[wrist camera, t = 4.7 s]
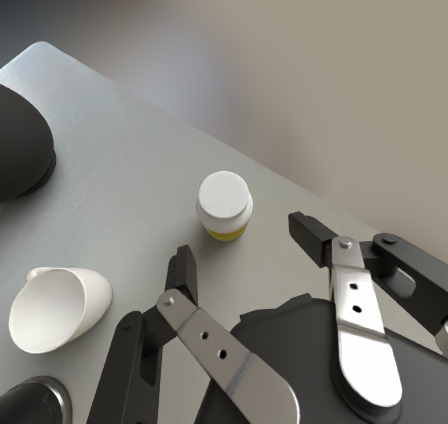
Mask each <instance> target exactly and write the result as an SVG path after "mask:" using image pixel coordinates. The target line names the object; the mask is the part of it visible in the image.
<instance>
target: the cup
mask: <svg viewBox="0 0 448 424" xmlns="http://www.w3.org/2000/svg"><path fill="white" fill-rule="evenodd" d="M26 281H27V283H26V284H25V285H24V286H23V287H22V289H21V290H20V291H19V293H18V294H17V296H16V298H15V300H14V302H13V304H12V307H11V310H10V315H9V331H10V335H11V338H12V340H13V341H14V343H15V344H16V345H17V347H19V348H20V349H21V350H23V351H25V352H27V353H31V354H43V353H47V352H50V351H53V350H55V349H57V348H59V347H61V346H63V345H65V344H67V343H69V342H70V341H72V340H74V339H76V338H77V337H79V336H81V335H82V334H84V333H85V332H86V331H88V330H89V329H90V328H92V327H93V326H94V325H95V324H96V323H97V322H98V321H99V320H100V319H101V317H102V316H103V315H104V314H105V312H106V311H107V309H108V307H109V305H110V303H111V300H112V295H113V290H112V286H111V284H110V282H109V280H108V279H107V278H106V277H105V276H103V275H102V274H100V273H98V272H96V271H94V270H91V269H87V268H78V267H64V268H51V267H39V268H35V269H32V270H31V271H30V272H29V273H28V274H27V275H26Z"/></svg>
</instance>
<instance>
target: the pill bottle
mask: <svg viewBox="0 0 448 424" xmlns="http://www.w3.org/2000/svg"><path fill="white" fill-rule="evenodd" d="M196 210H197V214H198V217H199V219H200V221H201V223H202V224H203V225H204V227H205V228H206V230H207V231H208V232H209V234H210V235H211V236H212V237H214V238H215V239H217V240H219V241H223V242H228V241H233V240H235V239H237V238H239V237H240V236H241V235H242V234H243V232H244V231H245V229H246V227H247V224H248V222H249V219H250V217H251V214H252V210H253V201H252V197H251V195H250V193H249V190H248V187H247V185H246V183H245V182H244V180H243V179H242V178H241V177H240V176H238V175H236V174H234V173H231V172H227V171H221V172H216V173H213V174H211V175H209V176H208V177H207V178H206V179H204V181H203V182H202V183H201V185H200V187H199V191H198V198H197V202H196Z"/></svg>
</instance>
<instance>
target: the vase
mask: <svg viewBox="0 0 448 424" xmlns="http://www.w3.org/2000/svg"><path fill="white" fill-rule="evenodd" d="M55 164H56V154H55V151H54V143H53V137H52V133H51V130H50V128H49V126H48V124H47V122H46V120H45V119H44V117H43V116H42V115H41V113H40V112H39V111H38V110H37V109H36V108H35V107H34V106H33V105H32V104H31V103H30V102H28V101H27V100H26V99H25V98H23V97H22V96H21V95H19V94H18V93H16V92H14V91H13V90H11V89H9V88H7V87H5V86H3V85H1V84H0V203H1V202H4V201H6V200H9V199H11V198H14V197H20V196H24V195H27V194H29V193H31V192H33V191H35V190H36V189H38V188H39V187H41V186H42V185H43V184H44V183H45V182H46V181H47V180H48V178H49V177H50V176H51V174H52V172H53V170H54V168H55Z"/></svg>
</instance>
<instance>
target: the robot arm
mask: <svg viewBox="0 0 448 424" xmlns="http://www.w3.org/2000/svg"><path fill="white" fill-rule="evenodd" d="M288 219H289V232H290V235H291V237H292V238H293V239H294V240H295V241H296V242H297V244H298V245H299V246H300V247H301V248H302V249H303V250H304V251H305V252H306V253H307V254H308V256H309V257H310V258H311V259H312V260H313V261H314V262H315V263H316V264H317V265H318V267H319V268H323V267H326V266H327V267H328V268H329V271H328V276H329V301H328V300H325V299H319V298H312V297H311V296H310V294H309V293H306V294H303V295H300V296H297V297H294V298H291V299H290V300H289V301H287V302H286V303H284V304H283V305H281V306H280V307H278V308H276V309H262V310H255V311H252V312H249V313H246V314H242V315H240V319H241V322H239V323H238V324H237V325H236V326H235V327H234V328H233V329H232V330H231V331H230V333H229V332H228V331H227V330H226V329H224V328H223V327H222V326H221V325H220V324H219V323H218V322H217V321H216V320H214V319H213V318H212V317H211V316H210V315H209V314H208V313H207V312H206V311H204V310H203V309H202V308H201V307H199V308H197V307H198V292H197V270H196V262H195V259H194V257H193V255H192V252H191V250H190V248H189V246H188V245H185V246H181V247H178V249H177V255H175V256H172V258H171V260H170V261H169V266H168V272H167V273H168V274H167V279H166V285H165V292H164V293H163V294H162V295H161V296H160V297H159V299H158V301H157V304H156V305H155V306H154V307H152V308H151V309H149V310H147V311H146V312H144V313H143V314H142V313H141V312H140V311H132V312H130V313H128V314H127V315H125V316H124V317H123V318H122V319H121V321H120V322H119V323H118V325H117V327H116V330H115V333H114V336H113V339H112V342H111V346H110V349H109V352H108V355H107V358H106V362H105V365H104V368H103V371H102V374H101V378H100V381H99V384H98V387H97V390H96V394H95V397H94V400H93V403H92V406H91V410H90V413H89V416H88V419H87V422H86V424H157V420H158V406H159V392H160V378H161V364H162V350H163V345H165V344H166V343H168V342H169V341H170V340H172V339H173V338H175V337H176V336H178V337H179V339H180V340H181V341H182V343H183V344H184V345H185V346H186V348H187V349H188V350H189V351H190V353H191V354H192V355H193V356H194V358H195V359H196V360H197V362H198V363H199V364H200V366H201V367H202V368H203V369H204V371H205V372H206V373H207V375H208V376H209V377H210V378H211V380H210V382H209V385H208V388H207V390H206V393H205V396H204V398H203V401H202V404H201V406H200V409H199V411H198V414H197V417H196V419H195V422H194V424H448V265H447V264H446V263H444V262H442V261H441V260H439V259H437V258H435V257H434V256H432V255H430V254H428V253H427V252H425V251H423V250H422V249H420V248H418V247H416V246H415V245H413V244H411V243H409V242H407V241H406V240H404V239H402V238H401V237H398V236H396V235H393V234H387V233H380V234H376V235H375V236H374V237H373V241H365V242H357V241H356V240H355V239H353V238H350V237H346V236H338V235H337V234H336V233H334V232H333V231H332V230H330V229H329V228H328V227H326V226H324V224H322V223H321V222H320V221H318V220H317V219H315V218H314V217H311V216H308V215H307V216H305V215H304V214H302V213H301V212H299V211H298V212H295V213H291V214H289V216H288ZM398 267H399V268H400V269H401V270H403V271H404V272H405V273H407V274H408V275H409V276H411V277H412V278H413V279H414V281H415V283H414V282H413V281H412V280H410V279H409V278H408V277H406V276H405V275H404V274H402V273H401V272H400V271H398V270H397V269H398ZM372 280H373V281H374V282H375V283H376V284H377V285H379V286H380V287H381V288H382V289H383V290H384V291H385V292H386V293H387V294H388V295H389V296H391V297H392V298H393V299H394V300H395V301H396V302H397V303H398V304H399V305H400V306H401V307H403V308H404V309H405V310H406V311H407V312H408V313H409V314H410V315H411V316H412V317H413V318H414V319H416V320H417V321H418V322H419V323H420V324H421V325H422V326H423V327H424V328H425V329H426V330H428V331H429V332H430V333H431V334H432V335H433V336H434V337H435V341H436V344H437V346H438V347H439V349H440V350H441V351H442V352H443V353H442V354H443V355H440V354H438V353H436V352H434V351H432V350H430V349H428V348H426V347H424V346H422V345H420V344H418V343H416V342H414V341H412V340H410V339H408V338H406V337H404V336H402V335H400V334H398V333H396V332H393V331H391V330H389V329H387V328H385V327H383V324H382V320H381V315H380V311H379V307H378V303H377V299H376V295H375V291H374V287H373V283H372ZM71 421H72V407H71V401H70V398H69V395H68V393H67V391H66V389H65V387H64V386H63V385H62V384H61V383H60V382H59V381H57V380H56V379H54V378H52V377H48V376H37V377H33V378H30V379H28V380H26V381H24V382H22V383H21V384H19V385H17V386H15V387H14V388H12V389H10V390H9V391H8V392H6V393H5V394H4V395H2V396H0V424H71Z"/></svg>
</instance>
